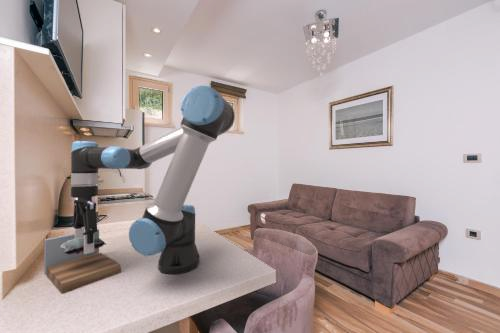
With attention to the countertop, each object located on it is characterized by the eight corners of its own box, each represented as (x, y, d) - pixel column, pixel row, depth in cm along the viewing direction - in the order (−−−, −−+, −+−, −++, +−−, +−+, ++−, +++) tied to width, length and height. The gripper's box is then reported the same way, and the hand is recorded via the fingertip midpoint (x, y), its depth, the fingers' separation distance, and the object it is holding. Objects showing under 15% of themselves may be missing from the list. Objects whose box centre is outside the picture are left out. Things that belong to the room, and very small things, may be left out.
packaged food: (58, 252, 72) (58, 238, 73) (99, 243, 82) (99, 230, 82) (63, 260, 67) (63, 244, 67) (107, 249, 76) (107, 235, 76)
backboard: (98, 259, 87) (99, 229, 87) (45, 274, 74) (45, 240, 74) (97, 257, 88) (97, 229, 88) (44, 273, 75) (44, 239, 75)
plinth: (120, 272, 75) (120, 264, 75) (61, 294, 62) (61, 283, 62) (100, 260, 86) (100, 252, 86) (46, 276, 73) (46, 267, 73)
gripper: (109, 186, 71) (108, 253, 71) (86, 183, 84) (85, 240, 84) (82, 187, 65) (81, 261, 65) (62, 184, 78) (61, 246, 78)
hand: (84, 249), depth 74 cm, fingers closed on packaged food, 9 cm apart
